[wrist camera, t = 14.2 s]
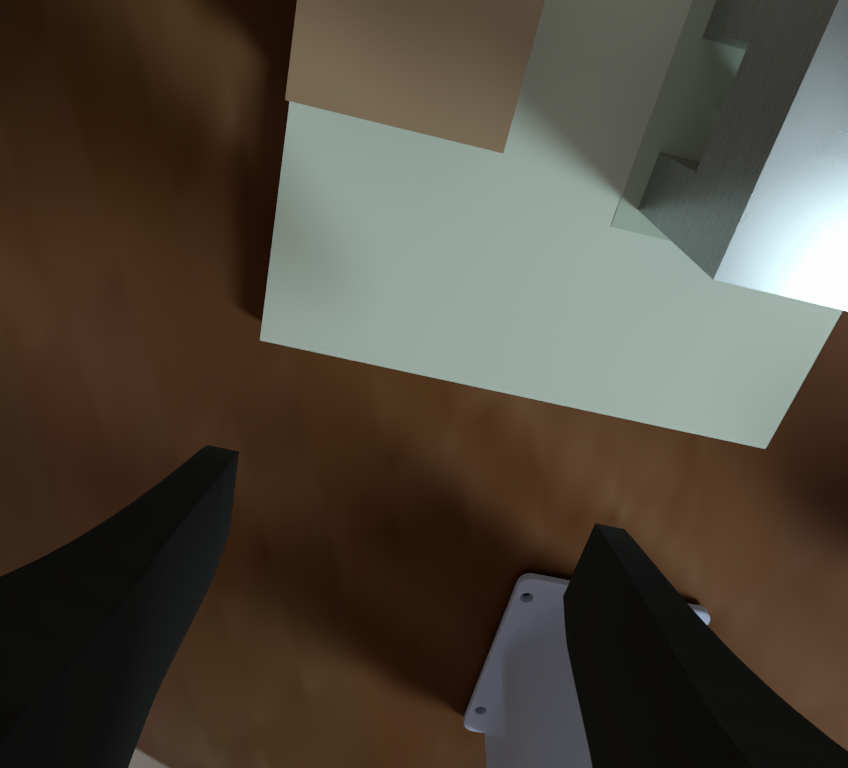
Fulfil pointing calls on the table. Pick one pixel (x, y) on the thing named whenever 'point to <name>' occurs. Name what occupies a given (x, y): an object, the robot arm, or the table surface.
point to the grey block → (769, 157)
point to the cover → (416, 63)
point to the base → (541, 240)
